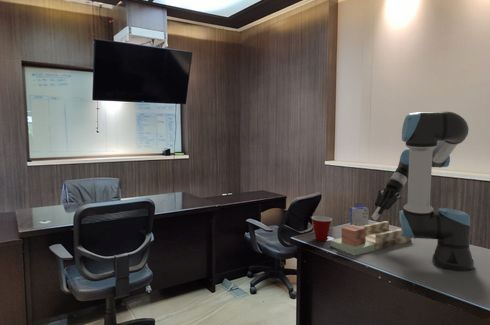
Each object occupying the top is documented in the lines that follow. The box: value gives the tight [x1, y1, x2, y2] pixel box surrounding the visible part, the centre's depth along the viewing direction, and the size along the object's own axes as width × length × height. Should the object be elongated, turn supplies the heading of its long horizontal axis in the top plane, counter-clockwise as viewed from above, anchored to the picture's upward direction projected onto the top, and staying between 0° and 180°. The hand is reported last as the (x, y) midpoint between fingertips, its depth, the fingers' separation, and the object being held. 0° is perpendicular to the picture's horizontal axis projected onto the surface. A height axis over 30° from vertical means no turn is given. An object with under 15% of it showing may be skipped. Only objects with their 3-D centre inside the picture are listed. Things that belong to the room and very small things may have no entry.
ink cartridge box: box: [349, 203, 370, 226], centre depth 202 cm, size 10×6×14 cm, turn 89°
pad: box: [330, 237, 375, 257], centre depth 169 cm, size 13×16×3 cm
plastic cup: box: [311, 215, 333, 242], centre depth 183 cm, size 11×11×12 cm
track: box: [359, 220, 413, 251], centre depth 178 cm, size 27×16×7 cm, turn 118°
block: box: [341, 224, 366, 246], centre depth 167 cm, size 8×8×8 cm
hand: (374, 218), depth 174 cm, fingers closed
